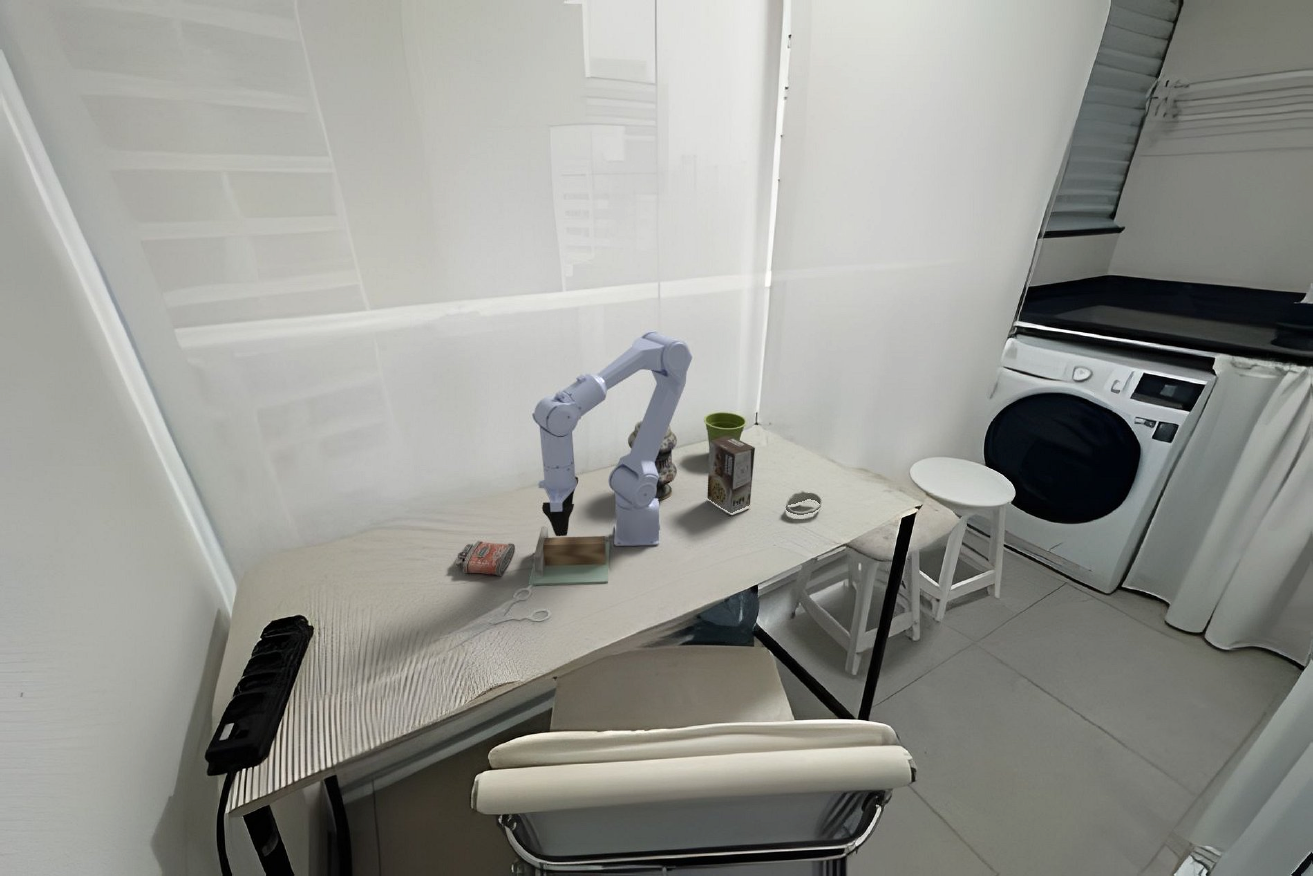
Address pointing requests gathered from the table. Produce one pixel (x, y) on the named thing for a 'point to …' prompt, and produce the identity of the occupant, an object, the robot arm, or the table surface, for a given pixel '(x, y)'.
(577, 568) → the tool mat
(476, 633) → the scissors
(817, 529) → the table surface
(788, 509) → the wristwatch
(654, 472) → the robot arm
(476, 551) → the lighter
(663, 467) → the apothecary jar
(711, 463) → the coffee box
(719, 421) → the plant pot
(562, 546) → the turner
